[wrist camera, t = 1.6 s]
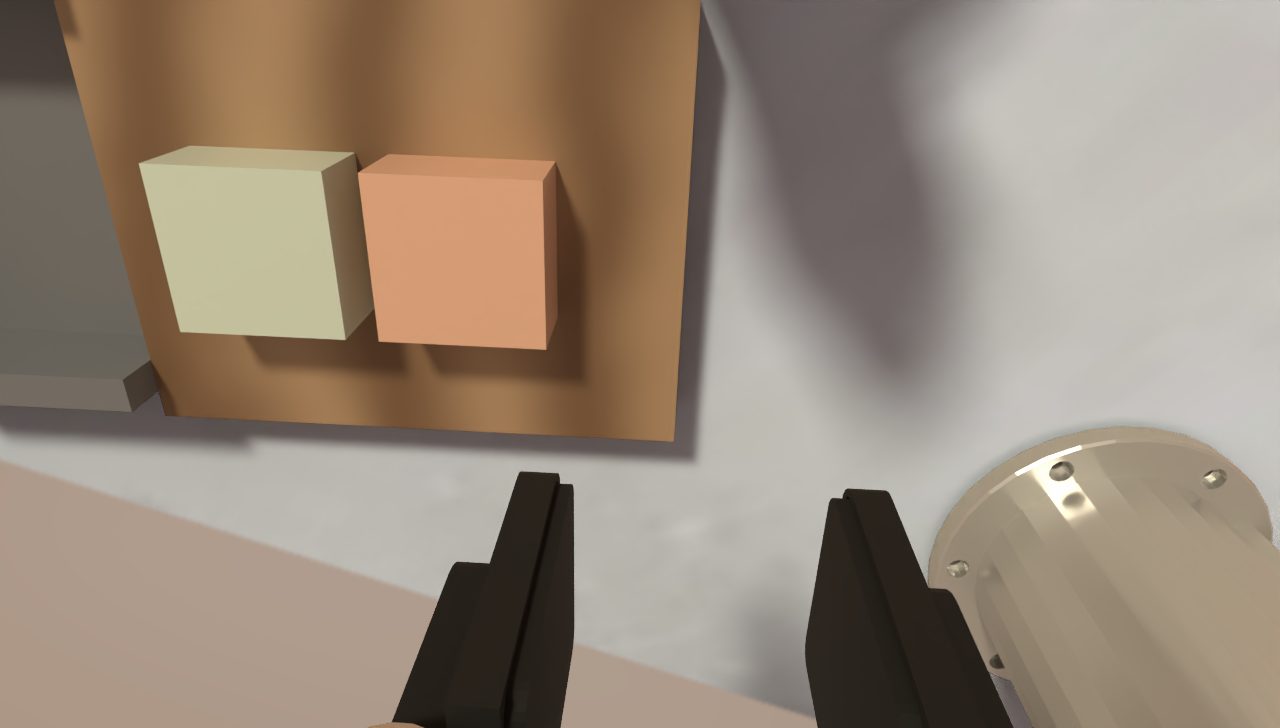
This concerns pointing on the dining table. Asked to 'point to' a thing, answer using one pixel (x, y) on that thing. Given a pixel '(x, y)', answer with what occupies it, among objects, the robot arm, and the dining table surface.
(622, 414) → the walnut plate
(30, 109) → the box
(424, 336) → the tile
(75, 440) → the dining table surface
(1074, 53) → the dining table surface
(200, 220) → the tile
